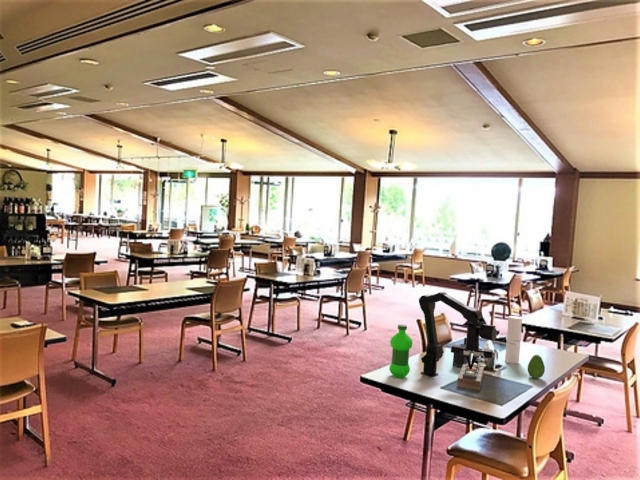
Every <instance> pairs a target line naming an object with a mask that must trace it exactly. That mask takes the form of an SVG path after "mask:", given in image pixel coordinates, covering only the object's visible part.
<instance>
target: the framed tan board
mask: <svg viewBox="0 0 640 480" xmlns="http://www.w3.org/2000/svg"><path fill="white" fill-rule="evenodd" d="M467 367H469V365H468V363H467V364H463V366H462V368H460V372H459V374H458V377H457V381H456V382H457V384H456V385H457V386H456V387H457V388H463V389H470V390H475V389H476V390H475V391H480V390H481V386H482V381H483V377H484V370H485V369H484V367H485V366H482V365H481V366H480V364H479V363H477V367H475V368H476V371H472V372H474V373H475V375H474V376H472V375H466V371H471V370H467ZM473 367H474V366H473Z"/></svg>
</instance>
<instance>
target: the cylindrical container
mask: <svg viewBox="0 0 640 480" xmlns="http://www.w3.org/2000/svg"><path fill="white" fill-rule="evenodd" d="M522 325H523V318H522V316H517V315H516V316H515V315H509V316H508V317H507V330H506V331H507V332H506V344H505V356H504V361H505V362H506V363H508V364H513V363H517V364H519V363H520V353H521V352H520V350H521V339H522Z"/></svg>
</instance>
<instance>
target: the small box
mask: <svg viewBox="0 0 640 480" xmlns="http://www.w3.org/2000/svg"><path fill="white" fill-rule="evenodd" d="M459 345H461V348H466V345H464V343H460V344H459ZM467 351H470V350H467ZM463 354H464V353H463V352H461V351H459V353H453V360H452V367H456V368H460V369H462V366H463V364H467V363H468V362H467V359H466V357H465V356H463ZM472 354H473V353H471V355H472Z"/></svg>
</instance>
